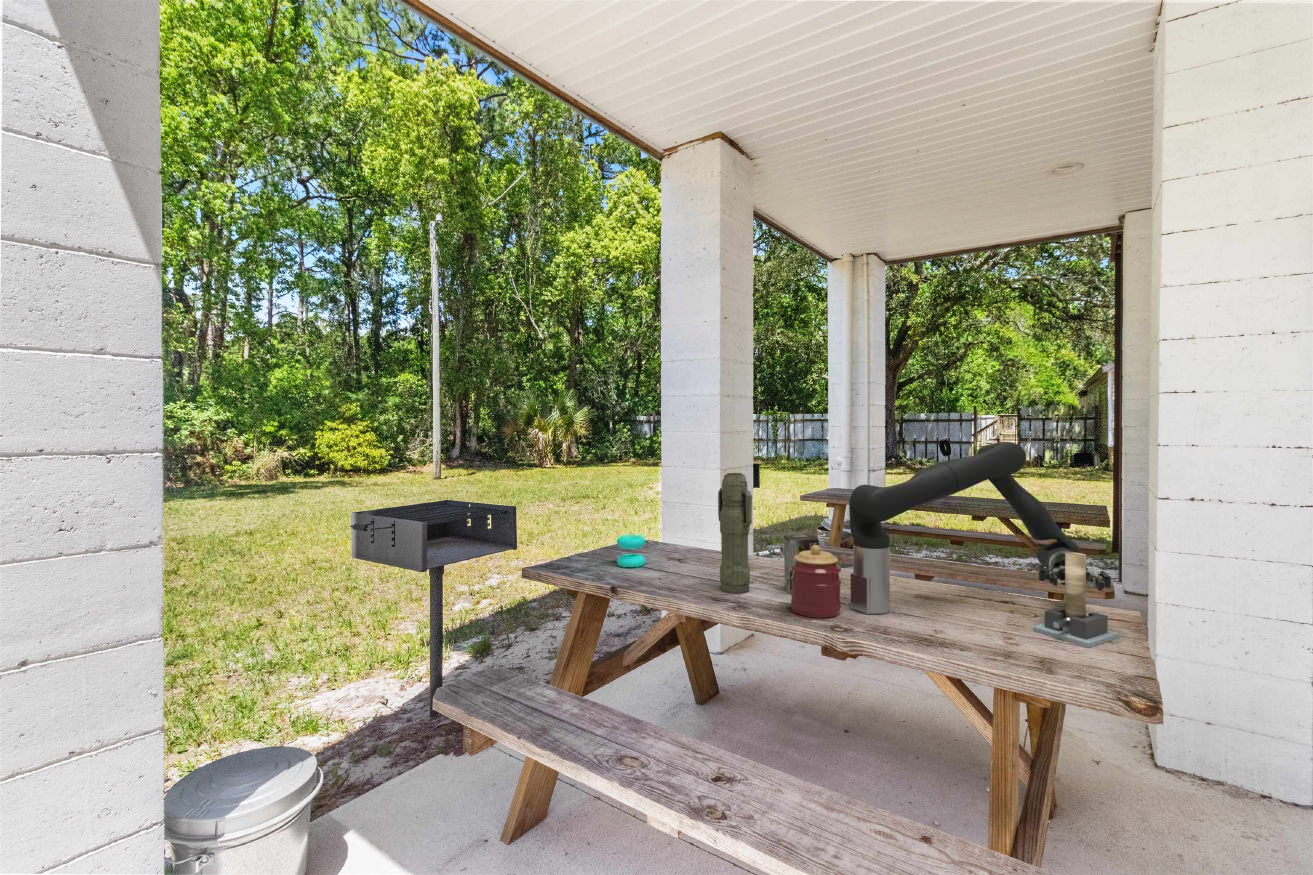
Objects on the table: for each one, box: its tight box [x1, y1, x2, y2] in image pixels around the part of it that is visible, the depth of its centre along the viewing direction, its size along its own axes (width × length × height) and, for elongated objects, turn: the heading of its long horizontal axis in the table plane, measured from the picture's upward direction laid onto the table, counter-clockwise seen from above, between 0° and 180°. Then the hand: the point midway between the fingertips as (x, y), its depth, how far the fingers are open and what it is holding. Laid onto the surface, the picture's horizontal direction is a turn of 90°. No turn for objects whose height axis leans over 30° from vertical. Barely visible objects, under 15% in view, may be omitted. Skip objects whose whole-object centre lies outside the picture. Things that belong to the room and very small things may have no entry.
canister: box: [790, 545, 842, 619], centre depth 158 cm, size 13×13×18 cm
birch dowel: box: [1064, 552, 1087, 631], centre depth 139 cm, size 4×4×18 cm
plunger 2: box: [1086, 610, 1098, 618], centre depth 142 cm, size 6×2×2 cm, turn 117°
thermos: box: [717, 472, 753, 595], centre depth 177 cm, size 9×12×35 cm
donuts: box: [616, 534, 646, 568], centre depth 208 cm, size 10×10×10 cm
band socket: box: [1032, 605, 1120, 649], centre depth 140 cm, size 13×12×5 cm
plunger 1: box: [1053, 617, 1071, 628], centre depth 137 cm, size 6×2×2 cm, turn 117°
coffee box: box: [783, 534, 820, 594], centre depth 176 cm, size 9×6×16 cm
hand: (1077, 583), depth 138 cm, fingers open, 8 cm apart
